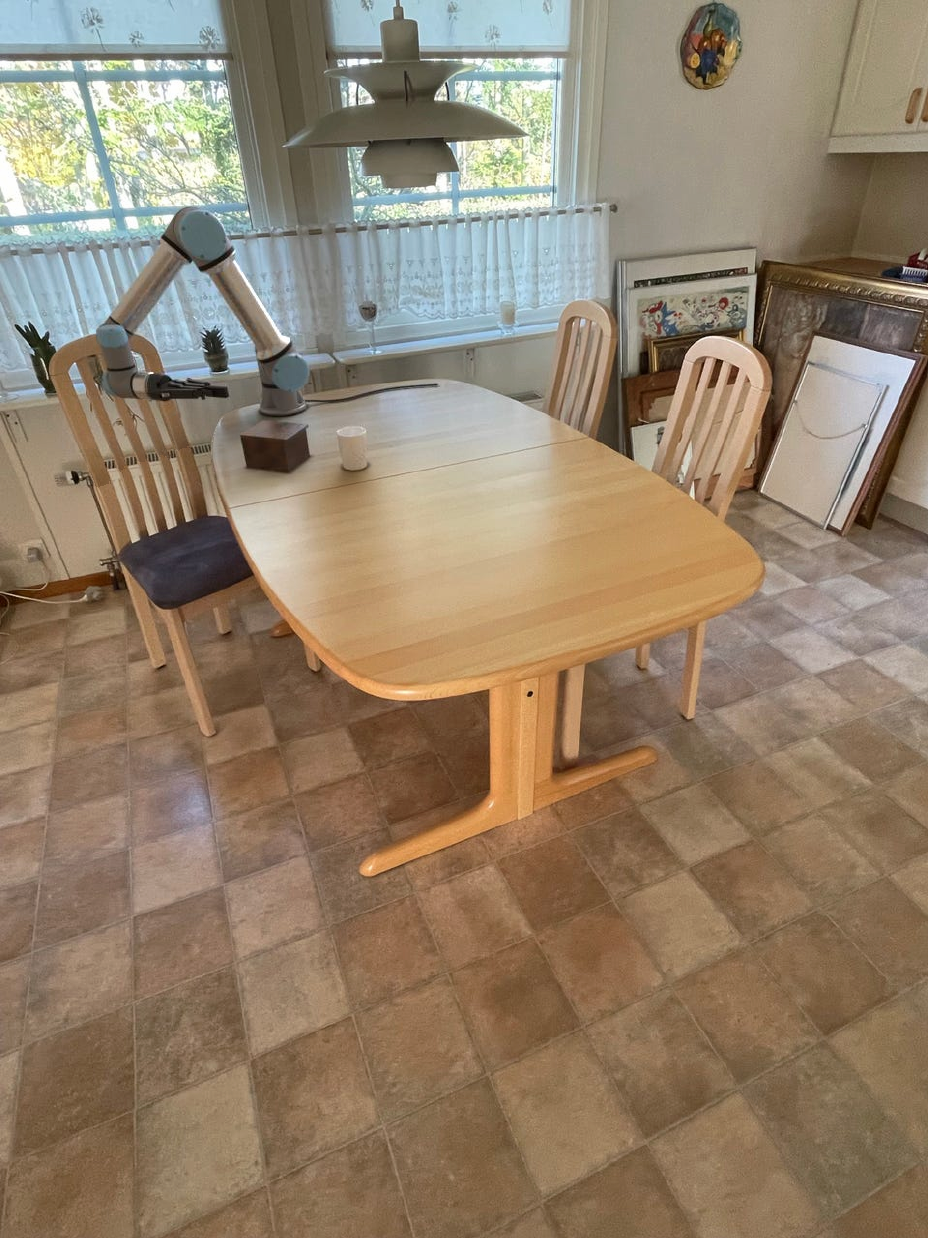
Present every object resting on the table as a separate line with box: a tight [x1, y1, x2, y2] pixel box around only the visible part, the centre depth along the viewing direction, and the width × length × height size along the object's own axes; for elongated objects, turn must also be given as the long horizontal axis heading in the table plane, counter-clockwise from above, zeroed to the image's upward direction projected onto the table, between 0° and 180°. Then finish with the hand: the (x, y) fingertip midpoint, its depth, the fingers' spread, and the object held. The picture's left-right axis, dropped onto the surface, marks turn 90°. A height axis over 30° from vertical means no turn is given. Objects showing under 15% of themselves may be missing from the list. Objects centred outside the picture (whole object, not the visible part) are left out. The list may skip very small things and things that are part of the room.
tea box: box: [240, 428, 311, 473], centre depth 196 cm, size 13×12×9 cm
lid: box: [239, 419, 309, 442], centre depth 193 cm, size 14×12×1 cm
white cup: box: [336, 425, 368, 471], centre depth 192 cm, size 8×8×10 cm
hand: (226, 392), depth 191 cm, fingers closed
